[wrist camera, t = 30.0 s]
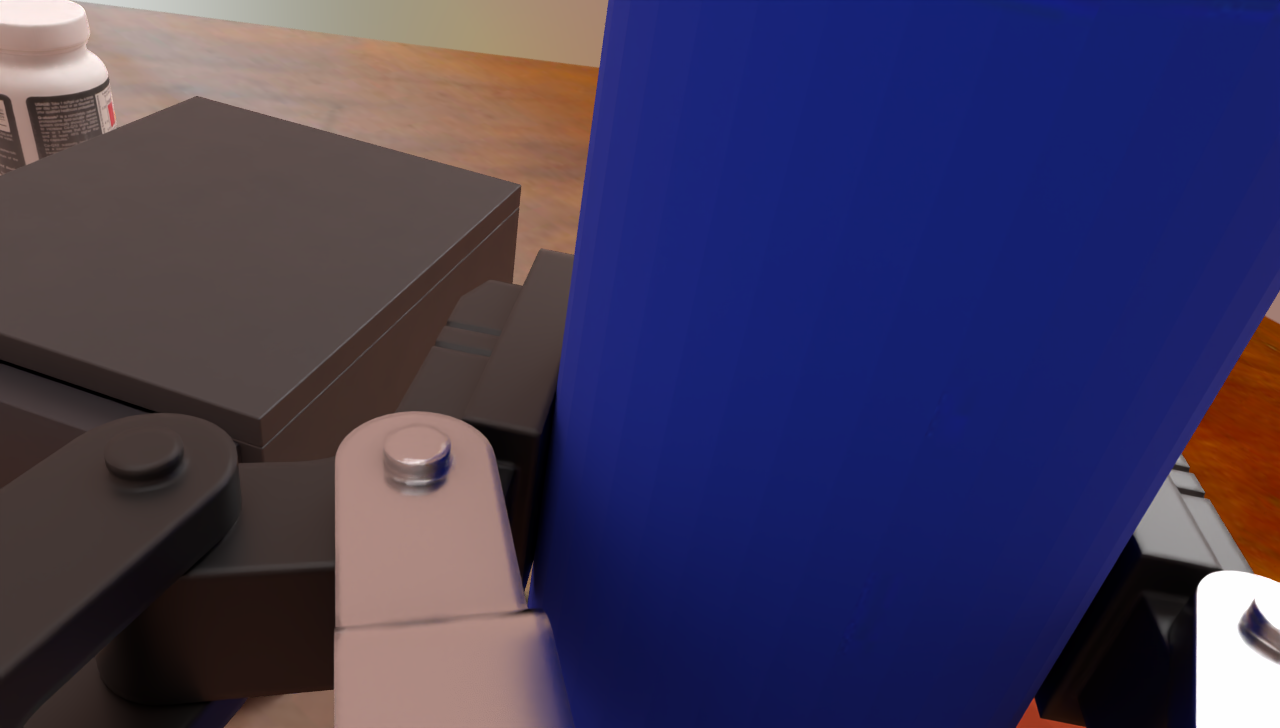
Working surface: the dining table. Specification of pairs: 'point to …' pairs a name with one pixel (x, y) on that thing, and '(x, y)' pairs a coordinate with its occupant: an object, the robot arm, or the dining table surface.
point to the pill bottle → (48, 82)
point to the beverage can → (889, 342)
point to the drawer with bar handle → (48, 417)
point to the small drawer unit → (244, 271)
